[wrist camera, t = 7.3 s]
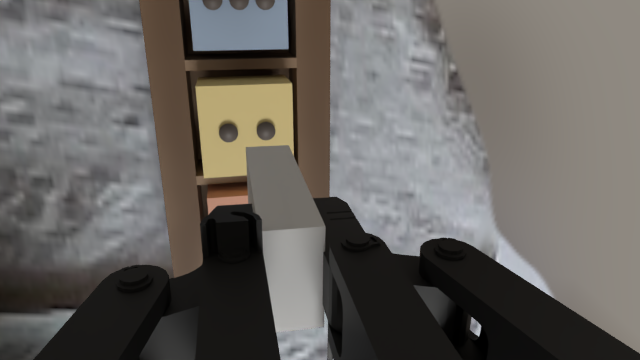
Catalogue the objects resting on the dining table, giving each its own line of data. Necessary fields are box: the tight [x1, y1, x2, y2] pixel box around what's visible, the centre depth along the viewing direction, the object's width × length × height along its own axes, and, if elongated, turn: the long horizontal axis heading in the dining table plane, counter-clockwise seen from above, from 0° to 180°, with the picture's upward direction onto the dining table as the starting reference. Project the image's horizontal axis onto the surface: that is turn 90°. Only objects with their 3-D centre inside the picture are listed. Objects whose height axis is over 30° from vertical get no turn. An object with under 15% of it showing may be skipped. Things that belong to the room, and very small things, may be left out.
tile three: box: [189, 0, 289, 51], centre depth 23 cm, size 4×4×3 cm
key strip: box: [139, 0, 330, 278], centre depth 26 cm, size 9×19×4 cm, turn 0°
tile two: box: [195, 75, 294, 178], centre depth 24 cm, size 4×4×3 cm
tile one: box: [207, 182, 248, 215], centre depth 27 cm, size 4×4×3 cm
